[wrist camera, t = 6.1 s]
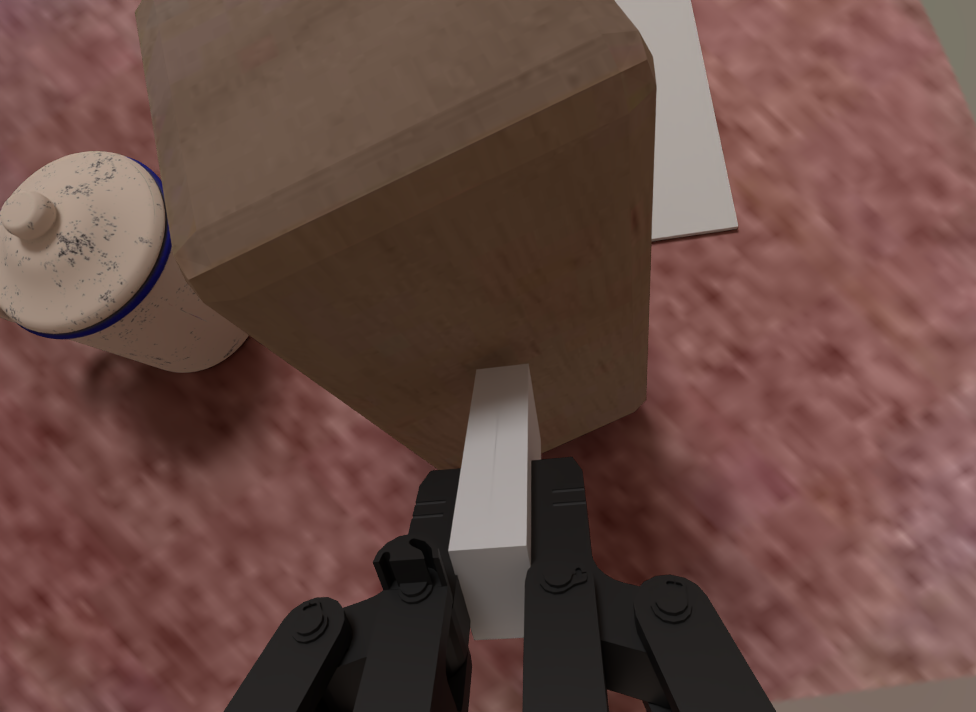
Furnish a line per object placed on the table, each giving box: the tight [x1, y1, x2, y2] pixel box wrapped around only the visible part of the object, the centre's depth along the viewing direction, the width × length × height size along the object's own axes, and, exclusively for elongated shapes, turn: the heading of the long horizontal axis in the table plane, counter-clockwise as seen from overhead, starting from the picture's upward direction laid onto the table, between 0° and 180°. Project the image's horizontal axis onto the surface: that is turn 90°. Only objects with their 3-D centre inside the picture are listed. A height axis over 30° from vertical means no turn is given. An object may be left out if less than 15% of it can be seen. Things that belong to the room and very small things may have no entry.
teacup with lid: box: [0, 151, 249, 373], centre depth 30 cm, size 12×9×12 cm
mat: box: [615, 0, 738, 241], centre depth 35 cm, size 24×20×1 cm
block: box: [135, 0, 657, 470], centre depth 21 cm, size 10×10×20 cm
